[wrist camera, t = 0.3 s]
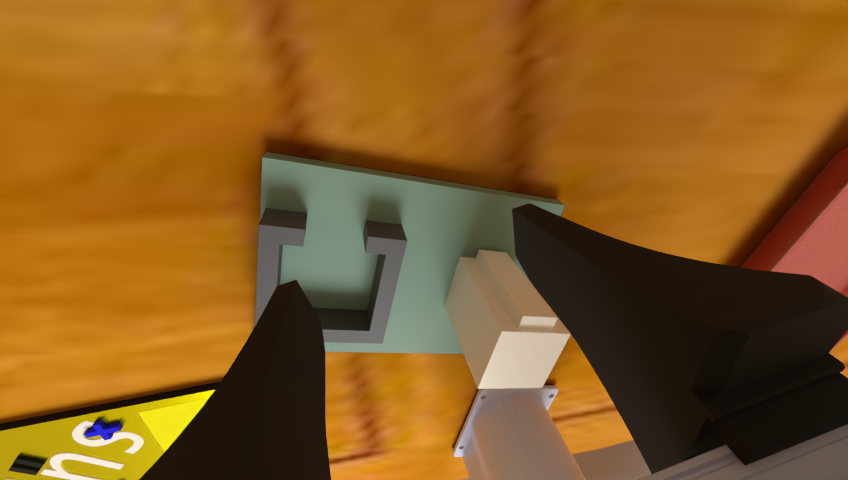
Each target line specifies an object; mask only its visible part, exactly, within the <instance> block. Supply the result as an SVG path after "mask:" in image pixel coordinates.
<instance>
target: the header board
mask: <svg viewBox="0 0 848 480" xmlns="http://www.w3.org/2000/svg"><path fill="white" fill-rule="evenodd" d="M528 203H530V204H533V205H535V206H538V207H540V208H542V209H545V210H547V211H549V212H551V213H553V214H556V215H558V216H561V214H562V212H563V209H564V207H565V205H564V204H562V203H561V202H560V201H558V200H557V199H551V198H544V197H538V196H532V195H526V194H520V193H514V192H508V191H502V190H496V189H490V188H484V187H478V186H471V185H465V184H459V183H453V182H447V181H441V180H435V179H429V178H423V177H417V176H411V175H405V174H399V173H392V172H386V171H380V170H374V169H368V168H362V167H356V166H350V165H344V164H338V163H332V162H326V161H319V160H313V159H307V158H301V157H295V156H289V155H283V154H277V153H271V152H265V154H264V155H263V157H262V182H261V207H260V223H259V233H258V259H257V285H256V311H255V326H256V324H257V322H258V320H259V318H260V317H261V315H262V313H263V311H264V309H265V307H266V305H267V303H268V302H269V300H270V298H271V296H272V294H273V292H274V291H275V289H276V287H277V286H278V285H281V284H284V283H287V282H290V281H293V280H297V282H298V283H299V285H300V287H301V288H302V290H303V292H304V293H305V295H306V297H307V298H308V300H309V302H310V304H311V305H312V307H313V309H314V310H315V312H316V314H317V315H318V317H319V319H320V320H321V324H322V331H323V337H324V345H325V352H382V353H438V354H463V351H462V349H461V346H460V344H459V341H458V339H457V336H456V334H455V331H454V329H453V326H452V324H451V321H450V319H449V316H448V314H447V311H446V309H445V306H444V305H445V301H446V298H447V295H448V292H449V289H450V286H451V283H452V280H453V276H454V273H455V270H456V267H457V264H458V261H459V258H460V257H469V258H476V256H477V253H478V250H479V249H480V250H489V251H498V252H507V254H508V255H509V256H510V258H511V259H512V260H513V261H514V262H515V264H516V265H517V266H518V268H519V269H520V270H521V271H522V273H523V274H524V275H525V276H526V278H527V279H528V277H527V275H526V274H525V272H524V270H523V269H522V267H521V265H520V263H519V261H518V260H517V258H516V256H515V243H514V229H513V216H512V209H513V208H516V207H519V206H522V205H525V204H528ZM528 280H529V279H528ZM529 282H530V283H531V281H530V280H529Z"/></svg>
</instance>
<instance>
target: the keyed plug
mask: <svg viewBox="0 0 848 480" xmlns="http://www.w3.org/2000/svg"><path fill="white" fill-rule="evenodd" d="M444 306H445V309H446V311H447V314H448V316H449V319H450V321H451V324H452V326H453V329H454V331H455V334H456V336H457V339H458V341H459V344H460V346H461V349H462V351H463V354H464V356H465V359H466V361H467V364H468V366H469V369H470V371H471V374H472V376H473V379H474V381H475V384H476V386H477V389H504V388H542V387H543V385H544V384H545V382H546V380H547V378H548V376H549V374H550V372H551V370H552V369H553V367H554V365H555V363H556V361H557V359H558V357H559V355H560V354H561V352H562V350H563V348H564V346H565V344H566V342H567V340H568V338H569V337H570V335H571V334H570V332H569V331H568V330H567V328H566V327H565V326H564V325H563V323H562V322H561V321H560V320H559V318H558V317H557V316H556V315H555V313H554V312H553V311H552V309H551V308H550V307H549V306H548V304H547V303H546V302H545V301H544V299H543V298H542V297H541V295H540V294H539V293H538V292H537V290H536V289H535V288H534V287H533V285H532V284H531V283H530V282H529V280H528V279H527V278H526V276H525V275H524V274H523V273H522V271H521V270H520V269H519V268H518V266H517V265H516V264H515V262H514V261H513V260H512V259H511V258H510V256H509V255H508V254H507V252H498V251H489V250H480V249H479V250H478V253H477V256H476V258H469V257H460V258H459V261H458V264H457V267H456V270H455V273H454V276H453V280H452V283H451V286H450V289H449V292H448V295H447V298H446V301H445V305H444Z"/></svg>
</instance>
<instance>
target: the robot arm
mask: <svg viewBox="0 0 848 480" xmlns="http://www.w3.org/2000/svg"><path fill="white" fill-rule="evenodd" d="M512 216H513V229H514V243H515V256H516V258H517V260H518V261H519V263H520V265H521V267H522V269H523V270H524V272H525V274H526V275H527V277H528V279H529V280H530V281H531V283H532V284H533V285H534V287H535V288H536V289H537V291H538V292H539V293H540V295H541V296H542V297H543V298H544V300H545V301H546V302H547V304H548V305H549V306H550V307H551V309H552V310H553V311H554V312H555V314H556V315H557V316H558V318H559V319H560V320H561V321H562V323H563V324H564V325H565V327H566V328H567V329H568V330H569V332H570V333H571V335H572V336H573V337H574V339H575V340H576V342H577V343H578V345H579V346H580V348H581V350H582V351H583V353H584V354H585V356H586V358H587V359H588V361H589V362H590V364H591V366H592V367H593V369H594V370H595V372H596V374H597V376H598V377H599V379H600V381H601V382H602V384H603V386H604V387H605V389H606V391H607V392H608V394H609V396H610V397H611V399H612V401H613V403H614V405H615V406H616V408H617V410H618V412H619V413H620V415H621V417H622V419H623V421H624V422H625V424H626V426H627V428H628V430H629V431H630V433H631V435H632V437H633V439H634V441H635V443H636V445H637V446H638V448H639V450H640V452H641V454H642V456H643V458H644V459H645V462H646V463H647V465H648V467H649V469H650V471H651V473H652V474H651V475H648V476H646V477H643V478H641V479H639V480H848V378H846V377H845V376H844V375H842V374H841V373H840V372H841V371H843V370H844V369H845V366H844V364H843V363H842V362H840V361H839V360H838V359H836V358H835V357H833V356H832V355H831V354H829V352H830V351H831V350H832V348H833V347H834V346H835V345H836V343H837V342H838V341H839V340H840V338H841V337H842V336H843V335H844V333H845V332H846V331H847V330H848V297H846V296H845V295H843V294H841V293H840V292H838V291H836V290H834V289H833V288H831V287H829V286H828V285H826V284H824V283H823V282H821V281H819V280H818V279H816V278H814V277H812V276H810V275H803V274H793V273H783V272H773V271H763V270H754V269H746V268H740V267H733V266H726V265H720V264H714V263H708V262H703V261H697V260H693V259H688V258H683V257H679V256H674V255H670V254H666V253H662V252H658V251H654V250H650V249H647V248H643V247H640V246H636V245H633V244H630V243H627V242H624V241H620V240H618V239H615V238H612V237H609V236H607V235H604V234H601V233H598V232H596V231H593V230H591V229H588V228H586V227H583V226H581V225H579V224H576V223H574V222H572V221H569V220H567V219H565V218H562V217H560V216H558V215H556V214H553V213H551V212H549V211H547V210H545V209H542V208H540V207H538V206H535V205H533V204H530V203H528V204H525V205H522V206H519V207H516V208H513V209H512ZM557 393H558V389H557V387H556V386H553V385H552V386H543V387H542V388H504V389H479V391H478V393H477V395H476V398H475V400H474V402H473V405H472V407H471V409H470V412H469V414H468V416H467V419H466V421H465V423H464V426H463V428H462V430H461V433H460V435H459V438H458V440H457V442H456V445H455V447H454V449H453V455H454V456H455V457H463V459H464V462H465V465H466V468H467V472H468V475H469V478H470V480H586V479H585V477H584V476H583V474H582V472H581V470H580V468H579V467H578V465H577V463H576V461H575V460H574V458H573V456H572V454H571V452H570V451H569V449H568V447H567V445H566V444H565V442H564V440H563V438H562V436H561V435H560V433H559V431H558V429H557V428H556V426H555V424H554V422H553V420H552V419H551V417H550V415H549V413H548V412H547V410H548V409H549V407H550V405H551V403H552V401H553V400H554V398H555V396H556V394H557ZM139 480H331V476H330V467H329V458H328V449H327V439H326V424H325V345H324V337H323V331H322V324H321V320H320V319H319V317H318V315H317V314H316V312H315V310H314V309H313V307H312V305H311V304H310V302H309V300H308V298H307V297H306V295H305V293H304V292H303V290H302V288H301V287H300V285H299V283H298V282H297V280H293V281H290V282H287V283H284V284H281V285H278V286H277V287H276V289H275V291H274V292H273V294H272V296H271V298H270V300H269V302H268V303H267V305H266V307H265V309H264V311H263V313H262V315H261V317H260V318H259V320H258V322H257V324H256V326H255V327H254V329H253V331H252V333H251V335H250V336H249V338H248V340H247V342H246V343H245V345H244V347H243V348H242V350H241V351H240V353H239V355H238V356H237V358H236V359H235V361H234V363H233V364H232V366H231V367H230V369H229V371H228V372H227V374H226V375H225V377H224V378H223V379H222V381H221V382H220V384H219V385H218V387H217V388H216V389H215V391H214V392H213V393H212V395H211V396H210V397H209V399H208V400H207V402H206V403H205V404H204V406H203V407H202V408H201V409H200V411H199V412H198V413H197V414H196V416H195V417H194V418H193V419H192V420H191V422H190V423H189V424H188V425H187V426H186V428H185V429H184V430H183V431H182V432H181V434H180V435H179V436H178V437H177V438H176V440H175V441H174V442H173V443H172V444H171V446H170V447H169V448H168V449H167V450H166V451H165V452H164V453H163V454H162V456H161V457H160V458H159V459H158V460H157V461H156V462H155V463H154V464H153V465H152V466H151V468H150V469H149V470H148V471H147V472H146V473H145V474H144V475H143V476H142V477H141V478H140V479H139Z"/></svg>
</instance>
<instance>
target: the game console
mask: <svg viewBox="0 0 848 480" xmlns="http://www.w3.org/2000/svg"><path fill="white" fill-rule="evenodd" d="M219 384H220V382H217V383H212V384H207V385H201V386H196V387H191V388H186V389H181V390H175V391H170V392H165V393H160V394H154V395H149V396H144V397H139V398H134V399H128V400H123V401H118V402H113V403H107V404H102V405H97V406H92V407H86V408H81V409H76V410H71V411H66V412H60V413H55V414H50V415H45V416H39V417H34V418H29V419H24V420H19V421H13V422H8V423H3V424H0V480H139V479H140V478H141V477H142V476H143V475H144V474H145V473H146V472H147V471H148V470H149V469H150V468H151V466H152V465H153V464H154V463H155V462H156V461H157V460H158V459H159V458H160V457H161V456H162V454H163V453H164V452H165V451H166V450H167V449H168V448H169V447H170V446H171V444H172V443H173V442H174V441H175V440H176V438H177V437H178V436H179V435H180V434H181V432H182V431H183V430H184V429H185V428H186V426H187V425H188V424H189V423H190V422H191V420H192V419H193V418H194V417H195V416H196V414H197V413H198V412H199V411H200V409H201V408H202V407H203V406H204V404H205V403H206V402H207V400H208V399H209V397H210V396H211V395H212V393H213V392H214V391H215V389H216V388H217V387H218V385H219Z"/></svg>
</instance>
